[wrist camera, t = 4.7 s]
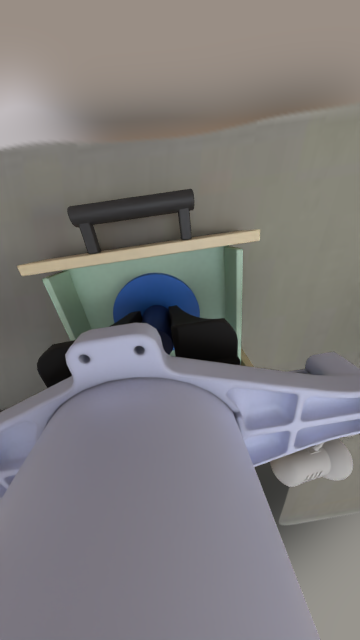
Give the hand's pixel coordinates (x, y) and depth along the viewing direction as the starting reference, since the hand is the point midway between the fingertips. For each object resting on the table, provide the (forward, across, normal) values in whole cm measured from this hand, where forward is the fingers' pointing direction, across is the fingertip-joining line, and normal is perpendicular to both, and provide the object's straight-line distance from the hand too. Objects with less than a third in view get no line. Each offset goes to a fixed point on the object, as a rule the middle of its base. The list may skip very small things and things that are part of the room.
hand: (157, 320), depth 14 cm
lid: (+1, 0, 0) cm, 1 cm away
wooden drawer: (+2, 0, -1) cm, 2 cm away
